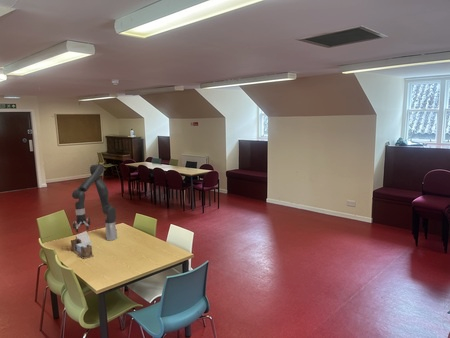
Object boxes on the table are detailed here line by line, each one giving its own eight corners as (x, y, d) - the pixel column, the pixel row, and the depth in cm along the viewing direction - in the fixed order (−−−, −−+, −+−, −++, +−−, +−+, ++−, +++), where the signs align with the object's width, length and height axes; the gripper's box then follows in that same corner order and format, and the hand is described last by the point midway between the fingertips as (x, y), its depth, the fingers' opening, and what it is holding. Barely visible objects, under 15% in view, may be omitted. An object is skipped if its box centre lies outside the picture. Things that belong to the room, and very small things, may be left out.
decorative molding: (81, 250, 294) (92, 245, 298) (79, 246, 292) (90, 241, 297) (77, 239, 323) (88, 235, 327) (76, 235, 322) (86, 230, 326)
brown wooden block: (79, 247, 294) (78, 238, 292) (93, 256, 274) (92, 246, 272) (70, 250, 288) (69, 240, 287) (84, 259, 268) (83, 248, 267)
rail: (79, 248, 290) (78, 241, 289) (89, 254, 275) (89, 248, 274) (74, 249, 287) (74, 242, 286) (84, 256, 272) (84, 249, 271)
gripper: (86, 210, 285) (88, 228, 288) (70, 214, 275) (72, 232, 278) (90, 212, 280) (92, 230, 283) (73, 216, 270) (75, 234, 273)
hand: (82, 231), depth 280 cm, fingers open, 8 cm apart
